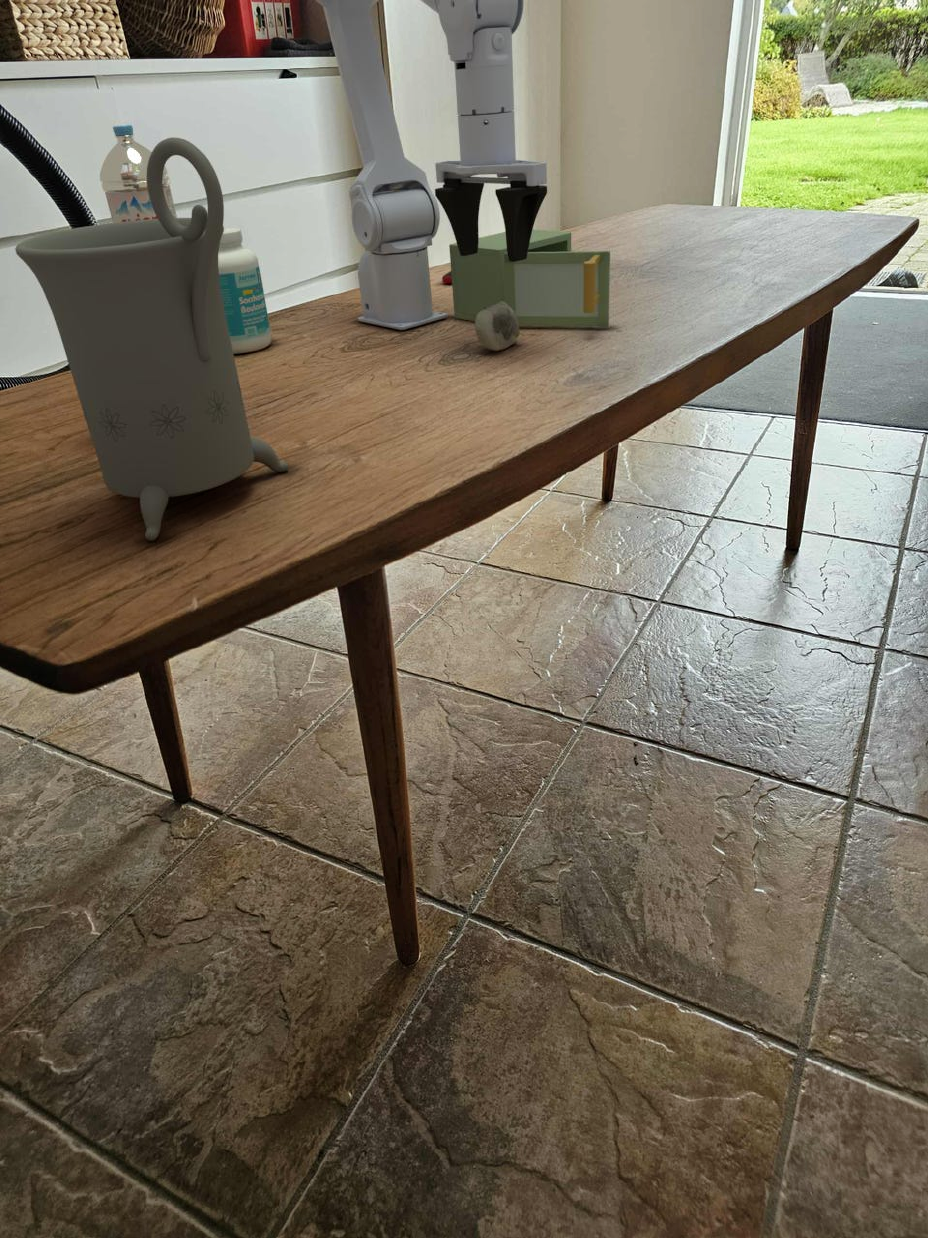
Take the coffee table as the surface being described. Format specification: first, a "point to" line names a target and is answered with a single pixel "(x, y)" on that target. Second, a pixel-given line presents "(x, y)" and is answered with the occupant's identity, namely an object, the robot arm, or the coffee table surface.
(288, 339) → the coffee table surface
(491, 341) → the fossil
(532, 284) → the cabinet door
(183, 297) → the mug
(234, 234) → the pill bottle
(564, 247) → the cabinet
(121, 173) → the water bottle
